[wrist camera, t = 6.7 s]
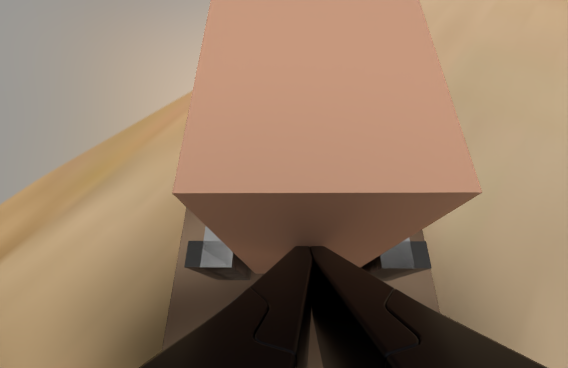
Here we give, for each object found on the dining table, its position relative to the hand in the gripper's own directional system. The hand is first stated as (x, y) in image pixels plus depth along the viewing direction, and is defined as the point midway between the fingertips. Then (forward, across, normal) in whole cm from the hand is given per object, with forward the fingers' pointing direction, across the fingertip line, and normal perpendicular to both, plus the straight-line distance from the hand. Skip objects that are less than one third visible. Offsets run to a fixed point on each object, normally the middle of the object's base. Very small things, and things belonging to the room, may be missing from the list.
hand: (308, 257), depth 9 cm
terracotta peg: (+7, 0, -2) cm, 7 cm away
